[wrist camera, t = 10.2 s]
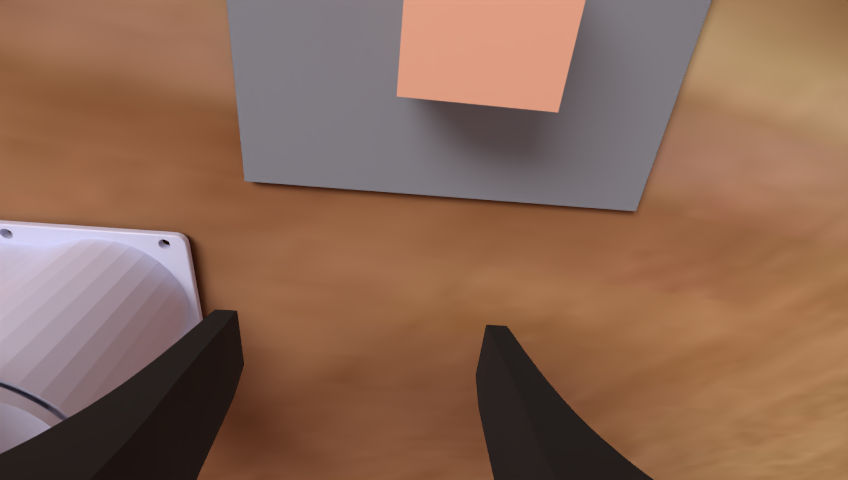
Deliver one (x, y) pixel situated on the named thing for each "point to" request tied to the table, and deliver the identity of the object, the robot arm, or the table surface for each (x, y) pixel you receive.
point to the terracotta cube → (488, 51)
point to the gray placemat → (454, 106)
